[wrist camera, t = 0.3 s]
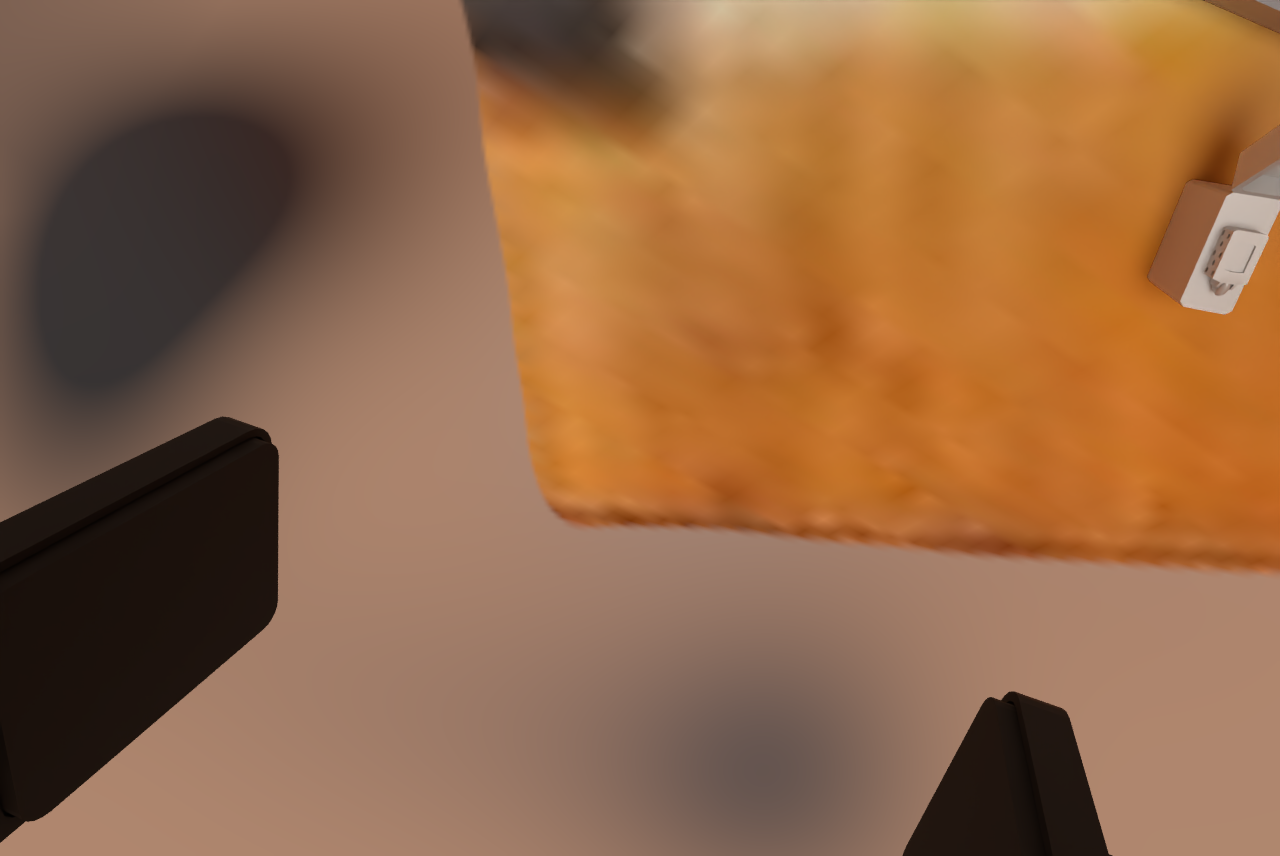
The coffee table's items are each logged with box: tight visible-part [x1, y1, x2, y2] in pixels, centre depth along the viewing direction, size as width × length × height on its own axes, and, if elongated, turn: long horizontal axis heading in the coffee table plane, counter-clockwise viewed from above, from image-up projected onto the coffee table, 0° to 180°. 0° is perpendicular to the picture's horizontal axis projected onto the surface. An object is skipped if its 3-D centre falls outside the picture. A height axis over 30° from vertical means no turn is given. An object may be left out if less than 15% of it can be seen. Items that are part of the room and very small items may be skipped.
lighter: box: [1147, 125, 1280, 314], centre depth 28 cm, size 7×2×8 cm, turn 172°
